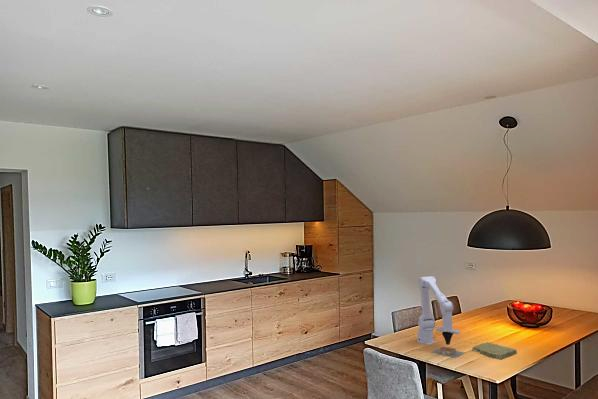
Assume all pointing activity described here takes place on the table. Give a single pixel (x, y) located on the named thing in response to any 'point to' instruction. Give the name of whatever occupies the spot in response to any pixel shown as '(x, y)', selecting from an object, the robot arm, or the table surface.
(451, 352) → the slab
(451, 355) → the mat
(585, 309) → the table surface
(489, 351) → the decorative tile
